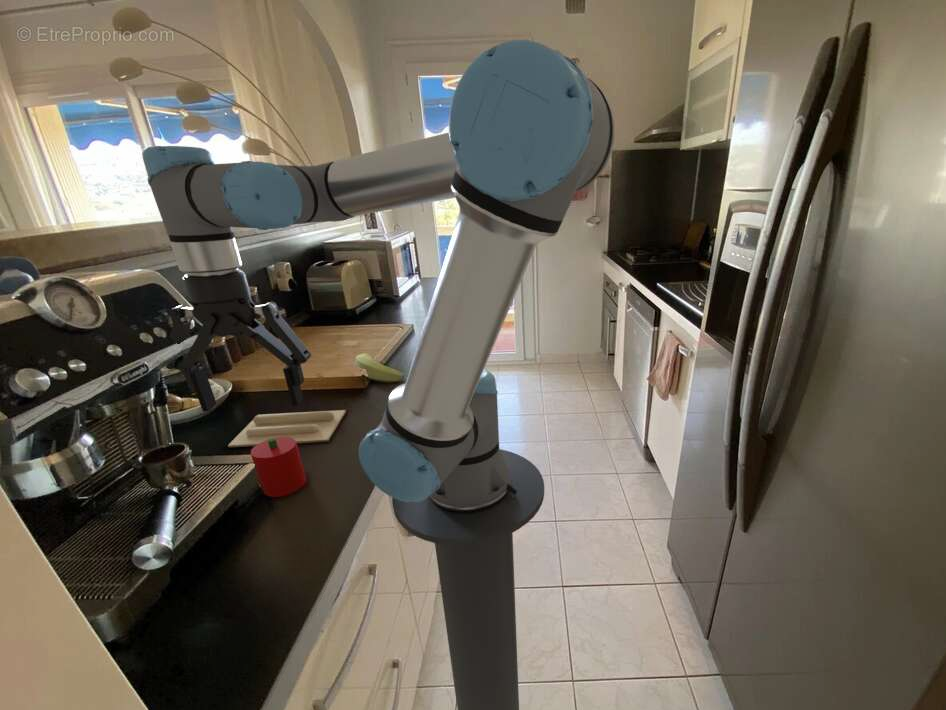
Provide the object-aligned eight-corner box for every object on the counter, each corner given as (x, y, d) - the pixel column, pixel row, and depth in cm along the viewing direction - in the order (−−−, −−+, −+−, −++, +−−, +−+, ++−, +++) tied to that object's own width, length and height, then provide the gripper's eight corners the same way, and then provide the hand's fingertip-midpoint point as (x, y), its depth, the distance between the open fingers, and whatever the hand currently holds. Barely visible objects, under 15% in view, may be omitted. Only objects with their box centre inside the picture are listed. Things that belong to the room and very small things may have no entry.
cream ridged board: (346, 411, 107) (344, 402, 106) (328, 441, 94) (325, 431, 93) (258, 416, 105) (255, 407, 104) (228, 447, 92) (224, 437, 91)
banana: (351, 361, 117) (358, 347, 135) (349, 381, 118) (356, 364, 136) (405, 369, 121) (405, 354, 139) (402, 388, 122) (402, 371, 141)
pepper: (312, 472, 84) (300, 428, 80) (298, 495, 78) (284, 449, 73) (273, 475, 83) (259, 431, 79) (256, 498, 77) (240, 452, 73)
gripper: (313, 264, 68) (340, 391, 77) (136, 269, 65) (185, 399, 75) (295, 273, 61) (327, 410, 70) (97, 278, 59) (157, 420, 68)
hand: (254, 405), depth 72 cm, fingers open, 13 cm apart
